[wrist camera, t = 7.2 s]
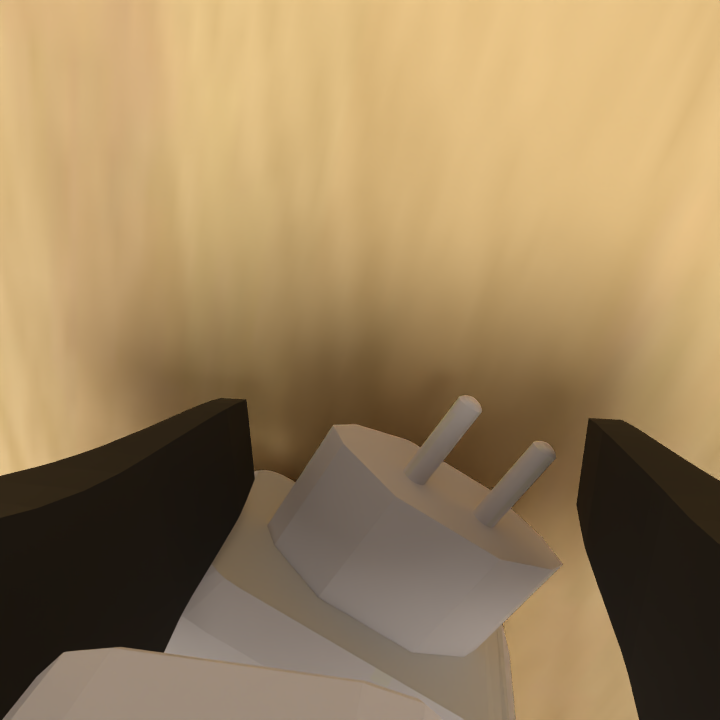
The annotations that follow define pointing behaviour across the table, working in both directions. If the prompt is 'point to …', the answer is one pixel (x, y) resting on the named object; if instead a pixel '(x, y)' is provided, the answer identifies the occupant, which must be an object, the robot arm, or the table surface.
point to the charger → (379, 570)
